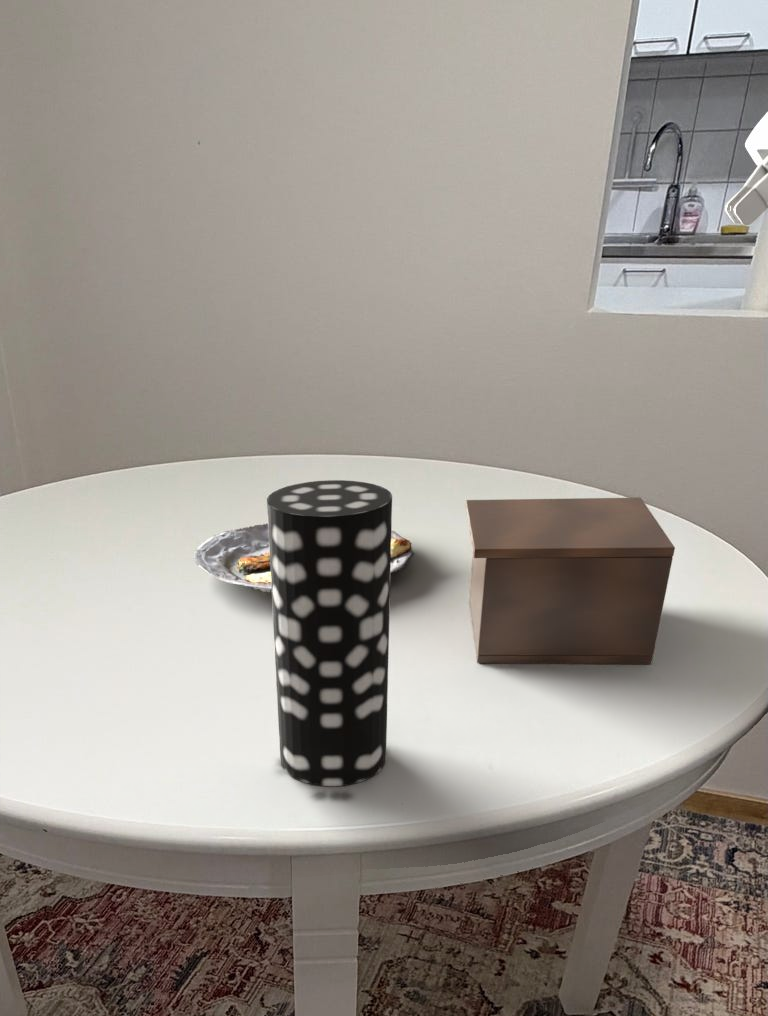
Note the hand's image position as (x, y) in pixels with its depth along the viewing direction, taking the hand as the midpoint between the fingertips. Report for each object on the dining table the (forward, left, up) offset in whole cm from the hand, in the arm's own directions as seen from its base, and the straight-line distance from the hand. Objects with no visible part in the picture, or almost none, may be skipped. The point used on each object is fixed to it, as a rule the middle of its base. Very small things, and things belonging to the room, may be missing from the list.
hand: (734, 217), depth 72 cm
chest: (+9, 0, -33) cm, 35 cm away
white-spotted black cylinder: (+29, +25, -34) cm, 51 cm away
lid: (+10, 0, -24) cm, 26 cm away
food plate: (+35, -18, -34) cm, 52 cm away
